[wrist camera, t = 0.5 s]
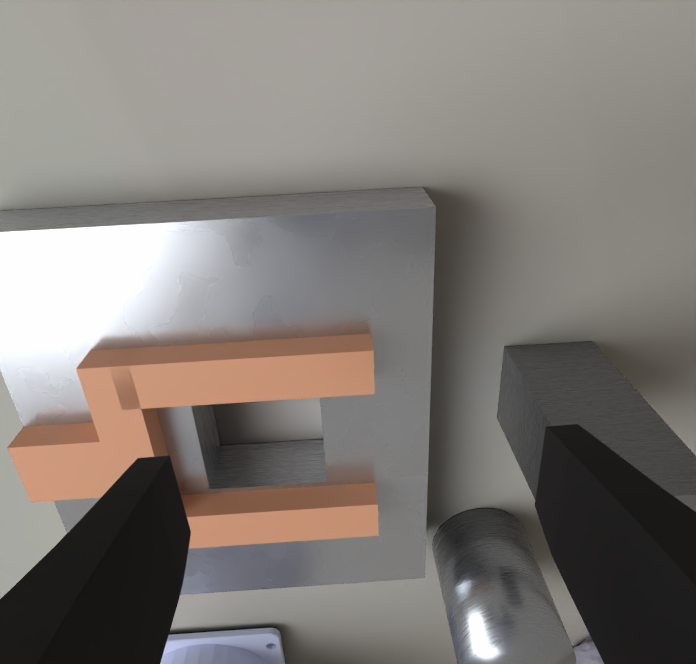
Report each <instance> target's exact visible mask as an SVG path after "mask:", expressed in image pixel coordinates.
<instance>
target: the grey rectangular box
mask: <svg viewBox="0 0 696 664" xmlns="http://www.w3.org/2000/svg"><path fill="white" fill-rule="evenodd" d="M497 419H498V421H499V423H500V425H501V427H502V430H503V432H504V434H505V436H506V438H507V440H508V442H509V445H510V447H511V449H512V451H513V453H514V455H515V457H516V460H517V462H518V464H519V466H520V468H521V470H522V472H523V475H524V477H525V479H526V481H527V483H528V485H529V487H530V490H531V492H532V494H533V496H534V498H535V500H536V494H537V487H538V479H539V472H540V465H541V457H542V450H543V443H544V435H545V428H546V426H559V425H572V424H578V425H579V426H581V427H582V428H584V429H585V430H586V431H588V432H589V433H590V434H592V435H593V436H594V437H596V438H597V439H598V440H600V441H601V442H602V443H604V444H605V445H606V446H607V447H609V448H610V449H611V450H613V451H614V452H615V453H617V454H618V455H619V456H620V457H622V458H623V459H624V460H626V461H627V462H628V463H630V464H631V465H632V466H634V467H635V468H636V469H637V470H639V471H640V472H641V473H643V474H644V475H645V476H647V477H648V478H649V479H651V480H652V481H653V482H655V483H656V484H658V485H659V486H660V487H662V488H663V489H664V490H666V491H667V492H668V493H670V494H671V495H673V496H674V497H675V498H677V499H678V500H680V501H681V502H682V503H684V504H685V505H687V506H688V507H689V508H691V509H692V510H694V511H695V512H696V456H695V455H694V454H693V453H692V451H691V450H690V449H689V448H688V447H687V446H686V445H685V444H684V443H683V441H682V440H681V439H680V438H679V437H678V436H677V435H676V434H675V433H674V431H673V430H672V429H671V428H670V427H669V426H668V425H667V424H666V423H665V422H664V420H663V419H662V418H661V417H660V416H659V415H658V414H657V413H656V412H655V410H654V409H653V408H652V407H651V406H650V405H649V404H648V403H647V402H646V400H645V399H644V398H643V397H642V396H641V395H640V394H639V393H638V392H637V391H636V389H635V388H634V387H633V386H632V385H631V384H630V383H629V382H628V381H627V379H626V378H625V377H624V376H623V375H622V374H621V373H620V372H619V371H618V369H617V368H616V367H615V366H614V365H613V364H612V363H611V362H610V361H609V360H608V358H607V357H606V356H605V355H604V354H603V353H602V352H601V351H600V350H599V348H598V347H597V346H596V345H595V344H594V343H593V342H592V341H586V342H569V343H553V344H537V345H521V346H505V347H504V354H503V364H502V374H501V384H500V393H499V403H498V413H497Z"/></svg>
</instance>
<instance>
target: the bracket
mask: <svg viewBox="0 0 696 664" xmlns="http://www.w3.org/2000/svg"><path fill="white" fill-rule="evenodd" d="M76 371H77V374H78V377H79V380H80V383H81V386H82V389H83V392H84V395H85V398H86V401H87V404H88V407H89V410H90V413H91V416H92V419H93V422H92V423H76V424H60V425H44V426H29V427H23V428H22V430H21V431H20V432H19V433H18V435H17V436H16V437H15V439H14V440H13V441H12V442H11V444H10V445H9V446H8V451H9V453H10V455H11V458H12V460H13V462H14V464H15V467H16V469H17V471H18V474H19V476H20V478H21V480H22V483H23V485H24V487H25V490H26V492H27V494H28V496H29V499H30V501H31V502H40V501H55V500H70V499H85V498H101V497H102V496H103V495H104V494H105V493H106V492H107V491H108V489H109V488H110V487H111V486H112V485H113V484H114V483H115V482H116V481H117V480H118V479H119V478H120V476H121V475H122V474H123V473H124V472H125V471H126V470H127V469H128V468H129V467H130V466H131V465H132V464H133V463H134V462H135V461H136V459H137V458H145V457H158V456H168V453H167V450H166V446H165V442H164V438H163V434H162V430H161V427H160V423H159V419H158V415H157V411H156V408H163V407H179V406H195V405H210V404H226V403H242V402H258V401H274V400H289V399H305V398H321V397H337V396H353V395H368V394H375V385H374V350H373V345H372V339H371V334H355V335H339V336H323V337H306V338H290V339H274V340H257V341H241V342H225V343H209V344H192V345H176V346H160V347H143V348H127V349H111V350H95V351H89V352H88V354H87V355H86V356H85V358H84V359H83V360H82V362H81V363H80V364H79V366H78V367H77V368H76ZM181 498H182V501H183V505H184V509H185V512H186V516H187V519H188V523H189V527H190V530H191V536H190V543H189V548H204V547H219V546H234V545H249V544H263V543H278V542H293V541H308V540H323V539H337V538H352V537H367V536H379V530H378V502H377V494H376V486H375V483H361V484H346V485H331V486H316V487H300V488H285V489H270V490H255V491H240V492H225V493H209V494H194V495H181Z"/></svg>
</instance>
